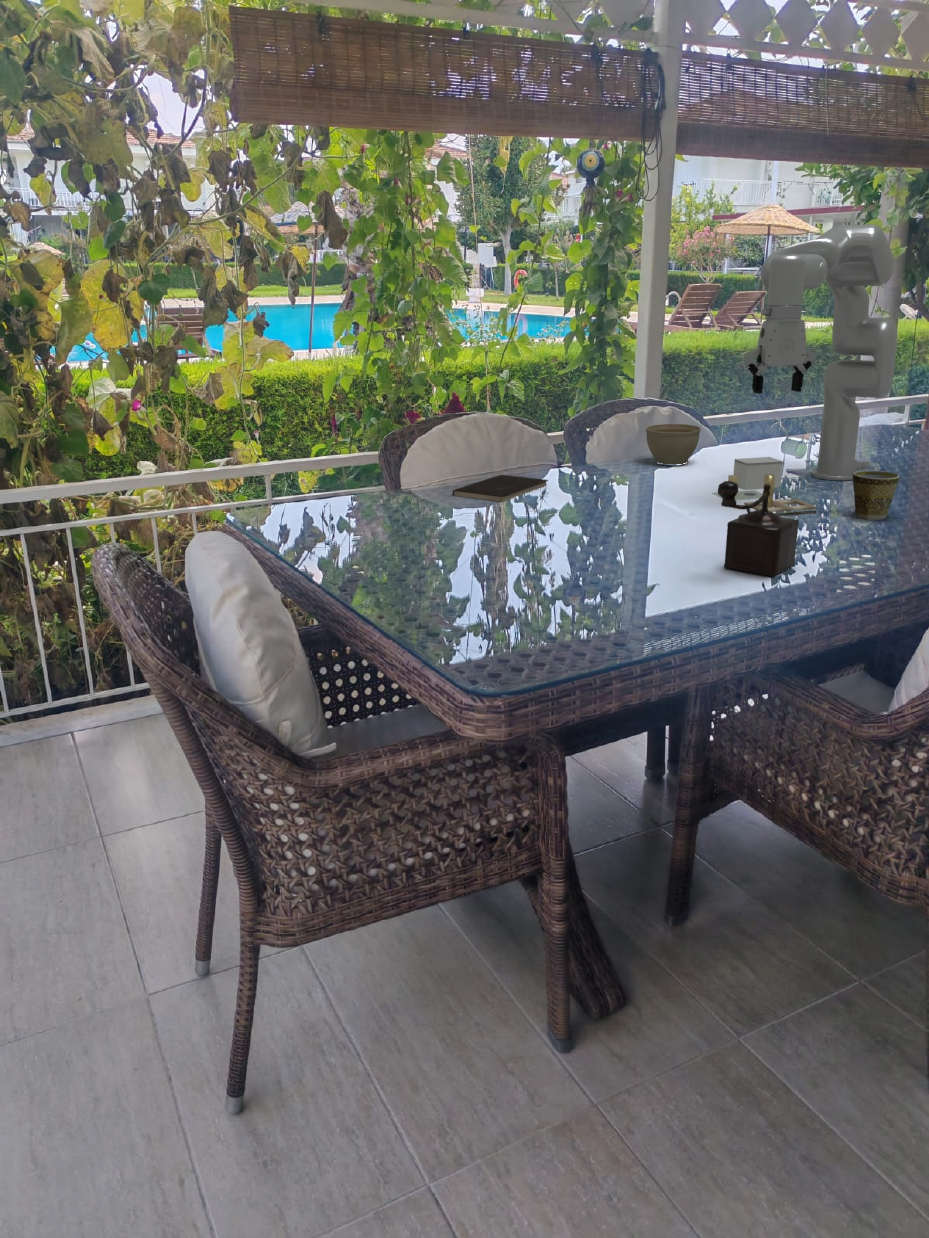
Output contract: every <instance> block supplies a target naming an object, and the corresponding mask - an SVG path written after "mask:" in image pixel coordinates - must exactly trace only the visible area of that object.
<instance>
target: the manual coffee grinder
mask: <svg viewBox="0 0 929 1238" xmlns="http://www.w3.org/2000/svg"><path fill="white" fill-rule="evenodd" d="M770 488H771V486H770V484H765V485H764V491H763V490H762V493H763V495H762V496H761V497H760V498H757V499H756V500H755V501H752V502H753V503H751V504H747V505H744V504H738V502H737V500H735V496H736V494H737V493H738V491H739V487H738V485H737V483H735V482H732V481H728V480H725V481H723V482H721V483H720V484H718V487H717V492H718V494H719V495H720V496H721V497H720V498H721V500H722V501H721V503H720V504H721V507H725V508H729V509H730V508H731V509H737V510H746V512H747V513H743V514H740V515H739V516H737V518H734V519H732V520H729V521H728V522H727V525H726V526H727V529H726V540H725V555H724V564H723V568H725V569H728V570H732V571H735V572H738V573H739V572H740V573H745V574H748V575H749V574H750V575H755V576H760V577H766V578H775V577H778V576H780V575H781V574H783V573H785V572H786V570H787V569H788V568H789V569H791V568H793V567H794V566H795V564H796V562H795V561H796V551H797V541H798V532H799V524H800V521H799V519H794V518H789V517H784V516H778V515H777V514H775V513H776V512H771V511H768V509H767V507H768V497H769V496H770V491H769V490H770ZM762 502H763V506H761V507H762V509H759V510H755V509H754V510H751V509H753V507H755V506H757V505H759V504H760V503H762ZM793 565H794V566H793ZM789 569H788V570H789ZM788 570H787V571H788ZM782 572H783V573H782ZM777 575H778V576H777Z"/></svg>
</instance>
